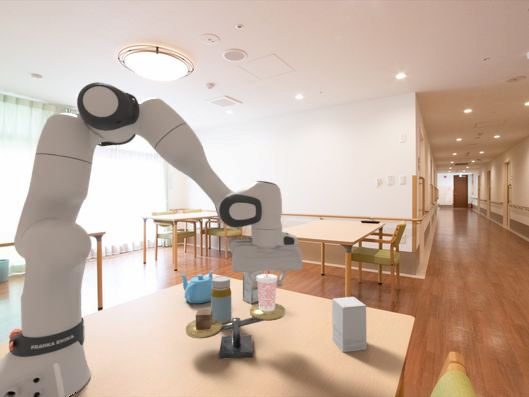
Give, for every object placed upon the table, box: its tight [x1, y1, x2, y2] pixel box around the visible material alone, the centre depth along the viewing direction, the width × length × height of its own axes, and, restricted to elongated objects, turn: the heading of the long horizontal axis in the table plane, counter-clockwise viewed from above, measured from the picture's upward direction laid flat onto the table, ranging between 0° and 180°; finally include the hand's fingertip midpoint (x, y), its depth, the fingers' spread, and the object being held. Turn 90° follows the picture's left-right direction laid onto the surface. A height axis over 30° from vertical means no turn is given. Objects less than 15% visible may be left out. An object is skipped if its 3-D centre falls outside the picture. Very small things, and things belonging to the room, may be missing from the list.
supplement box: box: [331, 296, 367, 353], centre depth 81 cm, size 7×7×13 cm
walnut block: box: [195, 308, 212, 330], centre depth 79 cm, size 4×4×4 cm
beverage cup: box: [256, 271, 278, 311], centre depth 80 cm, size 6×6×14 cm
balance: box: [185, 302, 286, 360], centre depth 79 cm, size 28×10×11 cm, turn 95°
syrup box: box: [242, 271, 263, 305], centre depth 115 cm, size 6×6×14 cm
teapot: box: [180, 269, 214, 304], centre depth 118 cm, size 15×15×10 cm
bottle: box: [210, 275, 233, 325], centre depth 96 cm, size 7×7×15 cm
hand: (266, 285), depth 80 cm, fingers closed on beverage cup, 6 cm apart
